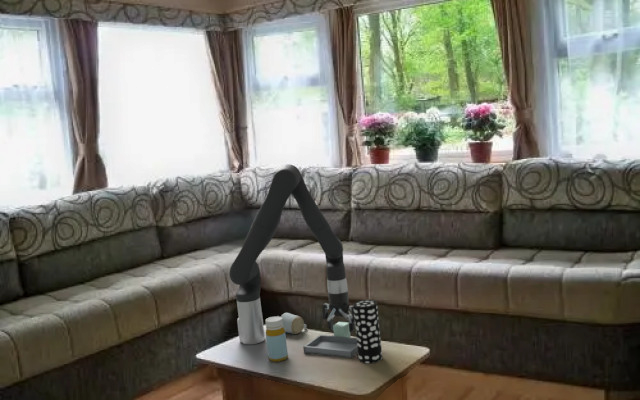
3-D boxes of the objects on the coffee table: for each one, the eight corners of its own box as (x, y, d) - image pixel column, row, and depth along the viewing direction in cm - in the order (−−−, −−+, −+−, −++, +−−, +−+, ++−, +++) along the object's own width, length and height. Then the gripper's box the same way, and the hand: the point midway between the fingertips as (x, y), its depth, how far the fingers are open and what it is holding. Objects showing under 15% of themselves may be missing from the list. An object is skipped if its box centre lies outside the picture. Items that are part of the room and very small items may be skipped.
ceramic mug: (293, 337, 258) (291, 318, 257) (279, 333, 264) (277, 315, 263) (311, 329, 266) (310, 311, 265) (297, 326, 271) (295, 308, 270)
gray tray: (304, 353, 240) (303, 346, 240) (320, 340, 251) (319, 334, 250) (351, 358, 230) (350, 351, 230) (366, 345, 241) (365, 338, 241)
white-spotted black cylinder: (355, 362, 226) (350, 307, 223) (362, 353, 234) (356, 299, 231) (379, 363, 223) (373, 307, 220) (384, 354, 231) (379, 299, 228)
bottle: (278, 363, 232) (273, 323, 230) (265, 360, 237) (260, 320, 235) (292, 356, 238) (287, 317, 235) (278, 353, 242) (273, 314, 240)
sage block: (334, 340, 249) (332, 325, 249) (340, 336, 253) (338, 321, 252) (345, 341, 247) (343, 326, 246) (350, 337, 251) (349, 322, 250)
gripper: (316, 291, 248) (320, 332, 250) (350, 293, 241) (354, 335, 243) (326, 286, 254) (330, 326, 257) (358, 288, 247) (362, 329, 249)
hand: (341, 330), depth 250 cm, fingers open, 8 cm apart
